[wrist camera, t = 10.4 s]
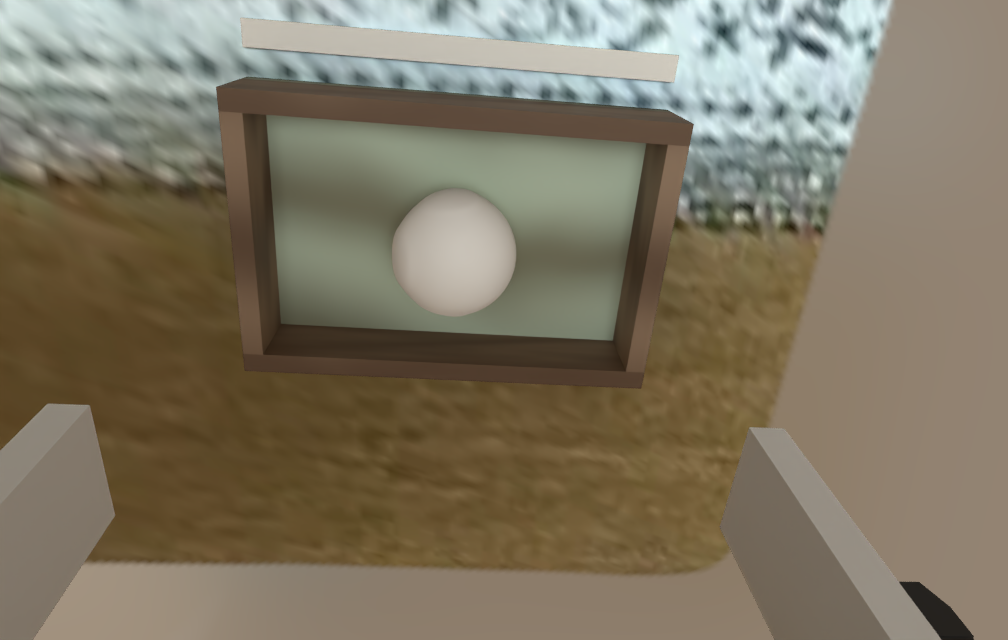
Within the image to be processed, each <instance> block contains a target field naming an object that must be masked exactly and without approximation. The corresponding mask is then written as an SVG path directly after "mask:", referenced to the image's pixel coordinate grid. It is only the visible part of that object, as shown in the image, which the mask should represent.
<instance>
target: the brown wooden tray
mask: <svg viewBox="0 0 1008 640" xmlns="http://www.w3.org/2000/svg"><path fill="white" fill-rule="evenodd" d="M216 90H217V100H218V110H219V120H220V130H221V140H222V150H223V160H224V169H225V179H226V189H227V199H228V209H229V219H230V229H231V239H232V249H233V259H234V269H235V279H236V289H237V299H238V309H239V319H240V329H241V338H242V348H243V358H244V368H245V371H261V372H283V373H305V374H328V375H350V376H372V377H395V378H417V379H440V380H462V381H484V382H507V383H529V384H551V385H574V386H596V387H619V388H641V387H642V382H643V377H644V371H645V366H646V361H647V356H648V351H649V346H650V341H651V336H652V331H653V326H654V321H655V316H656V311H657V306H658V301H659V296H660V291H661V286H662V281H663V276H664V271H665V266H666V261H667V256H668V251H669V246H670V241H671V236H672V231H673V226H674V221H675V215H676V210H677V205H678V200H679V195H680V190H681V185H682V180H683V175H684V170H685V165H686V160H687V155H688V150H689V145H690V140H691V135H692V130H693V125H694V124H692V123H691V122H689V121H687V120H685V119H683V118H681V117H679V116H678V115H676V114H674V113H672V112H670V111H668V110H661V109H648V108H636V107H623V106H611V105H598V104H585V103H573V102H560V101H547V100H535V99H522V98H509V97H497V96H484V95H471V94H459V93H446V92H433V91H421V90H408V89H395V88H383V87H370V86H358V85H345V84H332V83H320V82H307V81H294V80H282V79H269V78H256V77H245V78H242V79H239V80H236V81H233V82H230V83H227V84H224V85H221V86H218V87H216ZM449 188H462V189H467V190H470V191H472V192H474V193H476V194H478V195H480V196H482V197H484V198H485V199H487V200H488V201H489V202H491V203H492V204H493V205H494V206H495V207H496V208H497V209H498V210H499V211H500V212H501V213H502V214H503V215H504V217H505V218H506V220H507V221H508V223H509V225H510V227H511V229H512V232H513V235H514V239H515V244H516V263H515V268H514V272H513V275H512V278H511V280H510V282H509V284H508V286H507V287H506V289H505V290H504V291H503V293H502V294H501V295H500V296H499V297H498V298H497V299H496V300H495V301H494V302H493V303H491V304H490V305H488V306H487V307H485V308H483V309H481V310H479V311H477V312H474V313H471V314H467V315H464V316H458V317H452V316H444V315H439V314H435V313H432V312H430V311H427V310H425V309H424V308H422V307H421V306H419V305H418V304H417V303H416V302H415V301H414V300H413V299H411V298H410V296H409V295H408V294H407V293H406V292H405V291H404V289H403V288H402V287H401V286H400V284H399V283H398V281H397V279H396V277H395V275H394V271H393V266H392V243H393V238H394V234H395V232H396V230H397V228H398V227H399V225H400V224H401V222H402V221H403V219H404V218H405V216H406V215H407V214H408V213H409V212H410V210H411V209H412V208H414V207H415V206H416V205H417V204H418V203H419V202H420V201H422V200H423V199H424V198H425V197H427V196H429V195H430V194H432V193H435V192H437V191H440V190H444V189H449Z"/></svg>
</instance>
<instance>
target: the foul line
mask: <svg viewBox="0 0 1008 640" xmlns="http://www.w3.org/2000/svg"><path fill="white" fill-rule="evenodd" d="M240 21H241V33H242V45H243V47H252V48H264V49H276V50H288V51H300V52H312V53H324V54H337V55H349V56H361V57H373V58H385V59H397V60H409V61H421V62H434V63H446V64H458V65H470V66H482V67H494V68H506V69H518V70H530V71H543V72H555V73H567V74H579V75H591V76H603V77H615V78H627V79H640V80H652V81H664V82H674V81H675V75H676V70H677V64H678V59H679V55H670V54H658V53H647V52H635V51H624V50H612V49H600V48H589V47H577V46H565V45H554V44H542V43H530V42H519V41H507V40H496V39H484V38H472V37H461V36H449V35H437V34H426V33H414V32H402V31H391V30H379V29H367V28H356V27H344V26H333V25H321V24H309V23H298V22H286V21H274V20H263V19H251V18H240Z"/></svg>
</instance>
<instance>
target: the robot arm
mask: <svg viewBox="0 0 1008 640" xmlns="http://www.w3.org/2000/svg"><path fill="white" fill-rule="evenodd" d="M114 516H115V513H114V508H113V504H112V500H111V495H110V491H109V487H108V482H107V478H106V474H105V469H104V465H103V461H102V456H101V452H100V448H99V443H98V439H97V435H96V430H95V426H94V421H93V417H92V413H91V408H90V405H70V404H47V405H46V406H45V407H44V408H43V409H42V410H41V411H40V412H39V413H38V414H37V415H36V416H35V417H34V418H33V419H32V420H31V421H30V422H29V423H28V424H27V425H26V426H25V427H24V428H23V429H22V430H21V431H20V432H19V433H18V434H17V435H16V436H14V437H13V438H12V439H11V440H10V441H9V442H8V443H7V444H6V445H5V446H4V447H3V448H2V449H1V450H0V640H33V639H34V637H35V636H36V634H37V633H38V631H39V630H40V628H41V627H42V625H43V624H44V622H45V621H46V619H47V618H48V616H49V615H50V613H51V612H52V610H53V609H54V607H55V605H56V604H57V603H58V601H59V600H60V598H61V596H62V595H63V593H64V592H65V591H66V589H67V587H68V586H69V584H70V583H71V581H72V580H73V578H74V577H75V575H76V574H77V572H78V571H79V569H80V568H81V566H82V565H83V563H84V562H85V560H86V559H87V557H88V556H89V554H90V553H91V551H92V550H93V548H94V547H95V545H96V544H97V542H98V541H99V539H100V538H101V536H102V535H103V533H104V532H105V530H106V529H107V527H108V526H109V524H110V523H111V521H112V519H113V518H114ZM720 529H721V531H722V533H723V535H724V537H725V539H726V541H727V544H728V546H729V548H730V550H731V552H732V554H733V556H734V558H735V560H736V562H737V564H738V566H739V568H740V570H741V572H742V574H743V576H744V578H745V581H746V582H747V585H748V586H749V589H750V591H751V593H752V595H753V597H754V599H755V601H756V603H757V605H758V607H759V609H760V611H761V613H762V615H763V618H764V619H765V622H766V624H767V626H768V628H769V630H770V632H771V634H772V636H773V638H774V640H974V639H973V637H974V636H973V635H972V634H971V632H970V631H969V630H968V629H967V628H966V626H965V625H964V624H963V622H962V621H961V620H960V619H959V618H958V616H957V615H956V614H955V612H954V611H953V610H952V609H951V607H949V606H948V605H947V604H946V603H944V602H943V601H942V600H940V598H938V597H937V596H936V595H935V594H933V593H932V592H931V591H929V590H928V589H927V588H926V587H925V586H923V585H922V584H921V583H920V582H898V580H897V579H896V578H895V576H894V575H893V574H892V572H891V571H890V570H889V569H888V567H887V566H886V564H885V563H884V562H883V560H882V559H881V558H880V556H879V555H878V554H877V552H876V551H875V550H874V548H873V547H872V546H871V544H870V543H869V542H868V541H867V539H866V538H865V537H864V535H863V534H862V532H861V531H860V530H859V528H858V527H857V526H856V524H855V523H854V521H853V520H852V519H851V518H850V516H849V515H848V513H847V512H846V511H845V509H844V508H843V507H842V505H841V504H840V503H839V502H838V500H837V499H836V497H835V496H834V495H833V493H832V492H831V491H830V489H829V488H828V487H827V485H826V484H825V483H824V481H823V480H822V479H821V477H820V476H819V475H818V473H817V472H816V471H815V469H814V468H813V467H812V465H811V464H810V462H809V461H808V460H807V458H806V457H805V456H804V454H803V453H802V452H801V450H800V449H799V448H798V447H797V445H796V444H795V442H794V441H793V440H792V438H791V437H790V436H789V434H788V433H787V432H786V430H785V429H779V428H751V427H749V430H748V433H747V437H746V440H745V444H744V447H743V450H742V454H741V457H740V460H739V464H738V467H737V471H736V474H735V477H734V481H733V484H732V487H731V491H730V494H729V498H728V501H727V504H726V508H725V511H724V514H723V518H722V521H721V525H720Z"/></svg>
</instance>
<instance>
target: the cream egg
mask: <svg viewBox="0 0 1008 640" xmlns="http://www.w3.org/2000/svg"><path fill="white" fill-rule="evenodd" d="M515 263H516V244H515V239H514V235H513V232H512V229H511V227H510V225H509V223H508V221H507V220H506V218H505V217H504V215H503V214H502V213H501V212H500V211H499V210H498V209H497V208H496V207H495V206H494V205H493V204H492V203H491V202H489V201H488V200H487V199H485V198H484V197H482V196H480V195H478V194H476V193H474V192H472V191H470V190H467V189H462V188H449V189H444V190H440V191H437V192H435V193H432V194H430V195H429V196H427V197H425V198H424V199H423V200H422V201H420V202H419V203H418V204H417V205H416V206H415V207H414V208H412V209H411V210H410V212H409V213H408V214H407V215H406V216H405V218H404V219H403V221H402V222H401V224H400V225H399V227H398V228H397V230H396V232H395V234H394V238H393V243H392V266H393V271H394V275H395V277H396V279H397V281H398V283H399V284H400V286H401V287H402V288H403V289H404V291H405V292H406V293H407V294H408V295H409V296H410V298H411V299H413V300H414V301H415V302H416V303H417V304H418V305H419V306H421V307H422V308H424V309H425V310H427V311H430V312H432V313H435V314H439V315H444V316H452V317H458V316H464V315H467V314H471V313H474V312H477V311H479V310H481V309H483V308H485V307H487V306H488V305H490V304H491V303H493V302H494V301H495V300H496V299H497V298H498V297H499V296H500V295H501V294H502V293H503V291H504V290H505V289H506V287H507V286H508V284H509V282H510V280H511V278H512V275H513V272H514V268H515Z"/></svg>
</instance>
